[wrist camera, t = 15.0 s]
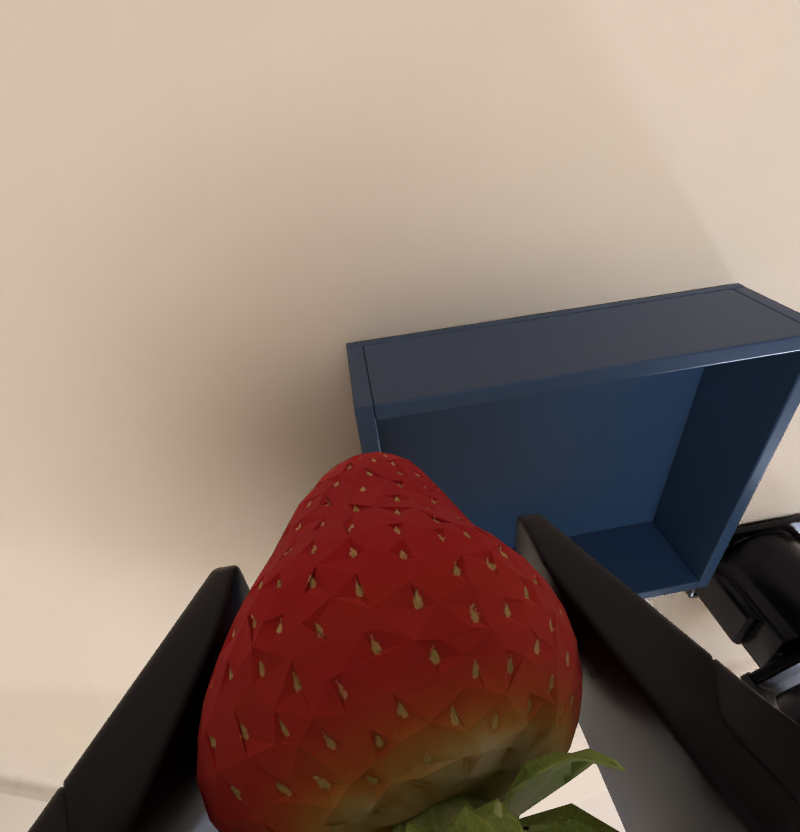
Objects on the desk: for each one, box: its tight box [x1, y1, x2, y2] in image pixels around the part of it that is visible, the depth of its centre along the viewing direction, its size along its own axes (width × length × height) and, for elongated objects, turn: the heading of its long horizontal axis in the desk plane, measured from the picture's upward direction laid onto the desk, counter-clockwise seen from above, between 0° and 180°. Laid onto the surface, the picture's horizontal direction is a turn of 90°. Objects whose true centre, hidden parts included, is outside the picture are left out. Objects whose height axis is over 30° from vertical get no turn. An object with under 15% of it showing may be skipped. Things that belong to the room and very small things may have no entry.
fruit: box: [197, 452, 627, 832], centre depth 7 cm, size 5×5×8 cm
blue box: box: [346, 283, 800, 599], centre depth 21 cm, size 16×14×4 cm
